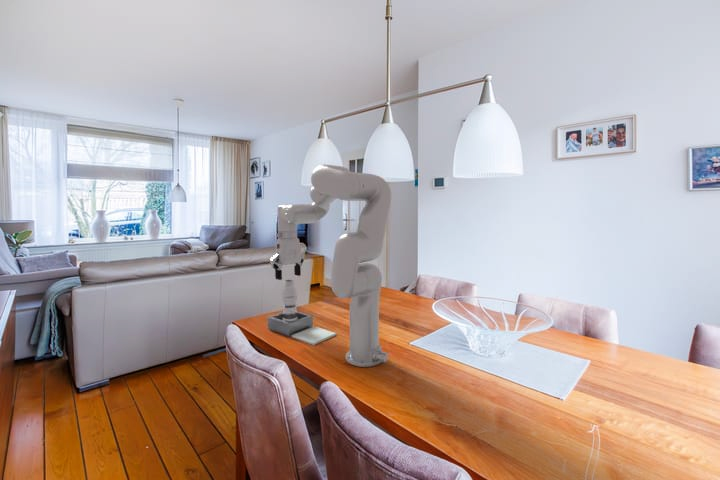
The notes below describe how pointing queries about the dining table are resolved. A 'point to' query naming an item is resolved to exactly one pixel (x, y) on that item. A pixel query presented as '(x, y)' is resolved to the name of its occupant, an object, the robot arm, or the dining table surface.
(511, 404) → the dining table surface
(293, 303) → the plastic bottle
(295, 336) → the mat
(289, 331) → the steel collar
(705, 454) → the dining table surface
